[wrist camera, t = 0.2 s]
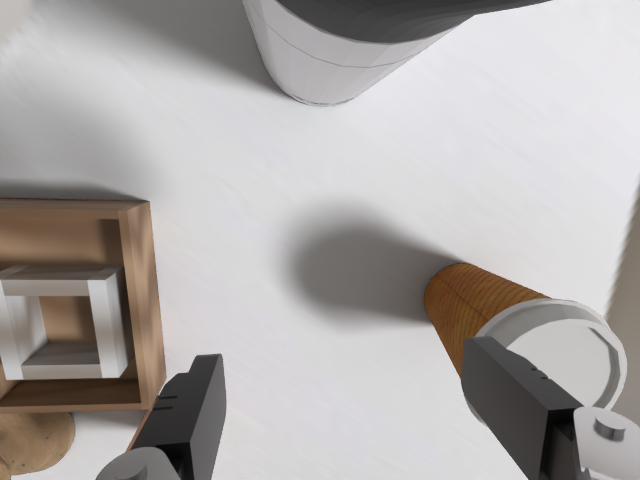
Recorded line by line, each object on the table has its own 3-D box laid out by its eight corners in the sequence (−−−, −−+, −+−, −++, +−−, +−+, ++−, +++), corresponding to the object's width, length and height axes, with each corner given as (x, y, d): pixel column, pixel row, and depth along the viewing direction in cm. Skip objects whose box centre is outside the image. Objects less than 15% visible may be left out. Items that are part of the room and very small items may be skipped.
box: (-19, 197, 26) (-70, 206, 22) (149, 201, 27) (126, 210, 23) (23, 380, 30) (-14, 413, 26) (166, 377, 31) (150, 409, 27)
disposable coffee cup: (516, 321, 32) (641, 420, 21) (420, 356, 33) (492, 473, 21) (497, 230, 30) (628, 285, 18) (393, 267, 30) (457, 346, 18)
